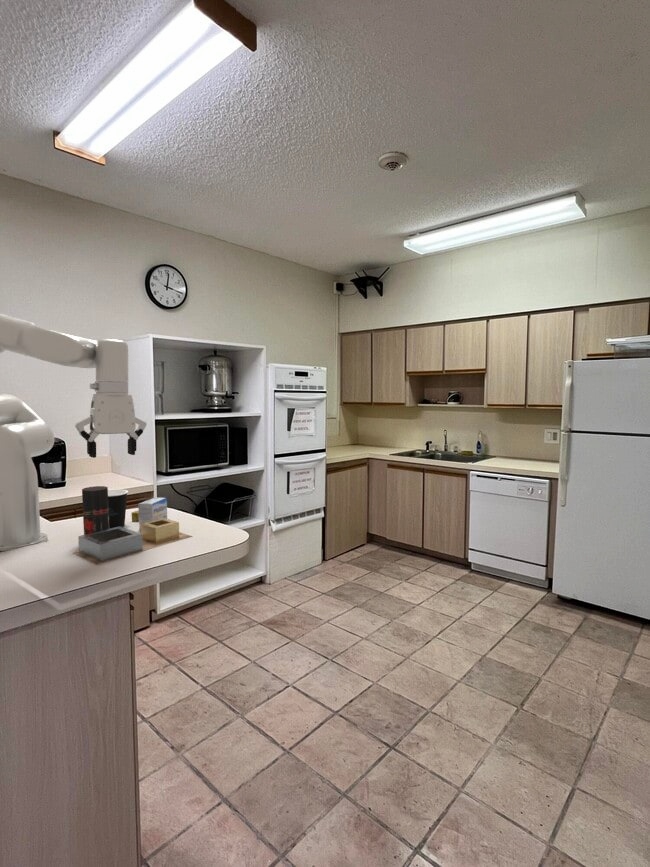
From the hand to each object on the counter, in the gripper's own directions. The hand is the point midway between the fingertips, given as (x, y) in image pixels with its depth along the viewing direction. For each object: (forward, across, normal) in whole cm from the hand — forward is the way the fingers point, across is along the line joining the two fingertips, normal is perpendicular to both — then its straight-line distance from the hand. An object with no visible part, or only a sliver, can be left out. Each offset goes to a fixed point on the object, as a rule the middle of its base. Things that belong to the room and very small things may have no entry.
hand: (112, 455), depth 120 cm
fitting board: (+23, +3, -7) cm, 24 cm away
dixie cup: (+24, +5, +14) cm, 28 cm away
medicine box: (+24, +14, +6) cm, 28 cm away
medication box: (+24, +17, +17) cm, 34 cm away
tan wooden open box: (+22, +10, -6) cm, 25 cm away
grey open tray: (+22, -3, -8) cm, 24 cm away
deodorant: (+24, -3, +2) cm, 24 cm away
